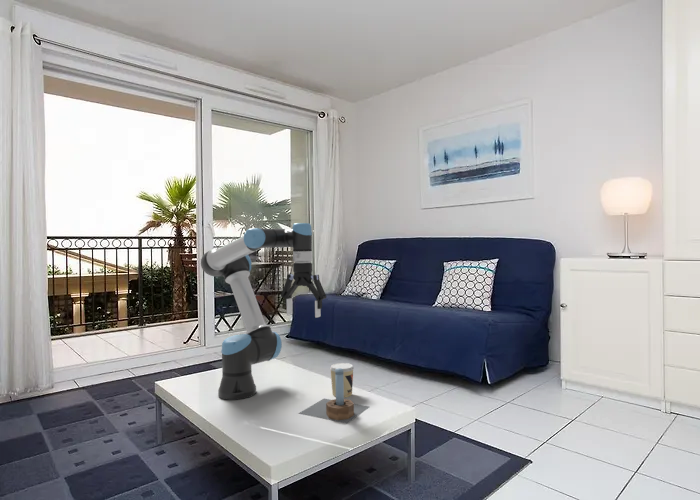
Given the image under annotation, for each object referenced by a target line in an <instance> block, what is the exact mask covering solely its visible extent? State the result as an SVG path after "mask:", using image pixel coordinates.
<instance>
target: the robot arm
mask: <svg viewBox="0 0 700 500" xmlns="http://www.w3.org/2000/svg"><path fill="white" fill-rule="evenodd" d="M312 228H313V227H312V224H311V223H308V222H296V223H295V222H294V223H293V224H292V228H261V227H254V228H248V229H246V231H245V232H244V234H243V235H242V236H241V237H239V238H237V239H235V240H233V241H231V242H229V243H227V244H225V245H223V246H221V247H219V248H212V249H210V250H208V251H206V252H205V253H203V254H202V257H201V259H200V267H201V268H202V271H203V272H204V273H205V274H207V275H208V276H210V277H223V278H224V282H225V283H227V284H228V285H230V288H231V291H232V293H233V296H234V299H235V303H236V305H237V307H238V311H239V314H240V316H241V319H242V322H243V324H244V327H245V330H246V333H242V334H241V333H240V334H234V335H231V336H228V337H226V338H225V339H224V340H223V341H222V342H221V369H222V377H221V381H220V383H219V387H218V391H217V392H218V395H217V396H218V397H219V398H220V399H222V400H230V401H235V400H242V399H243V400H244V399H248V398H250V397H252V396H255V395H256V393H257V385H256V384H255V380H254V377H253V374H252V371H253V370H252V365H256V364H261V363H263V362H269V361H271V360H275V359H276V358H278V357H279V355H280V354H281V350H282V338H281V336H280V334H278V333H277V332H276V331H272V328H271V326H270V325H269V324H267V323H266V321H265V319H264V316H263V313H262V311H261V308H260V306H259V303H258V300H257V298H256V297H257V296H256V295H255V292H254V289H253V287H252V285H251V281H250V278H249V277H250V275H251V271H252V263H253V262H252V260H251V258H250V256H249V255H250V254H252V253H255V252H257V251H258V250H261V249H264V248H265V249H268V248H270V249H273V248H275V249H277V248H279V249H280V248H281V249H283V248H292V253H293V254H292V261H293V264H292V271H293V273H290V274H289V273H288V274H287V275H286V281H285V284H284V286H283V289H282V290H281V294H280V296H281V297H282V298H284V304H285V305H284V306H285V307H286V316H291V315H293V298H292V296H293V294H294V293H295V291H297V289H298V287H306V288H308V289H309V291H310V292H311V294H312V295H313V296H314V298H315V300H314V317H315V319H316V318H320V317H322V316H321V312H322V311H321V310H322V308H323V300H325V299H327V295H326V294H327V293H326V292H325V290H324V286H323V285H322V283H321V281H320V275H319V274H313V263H312V262H313V231H312Z"/></svg>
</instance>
